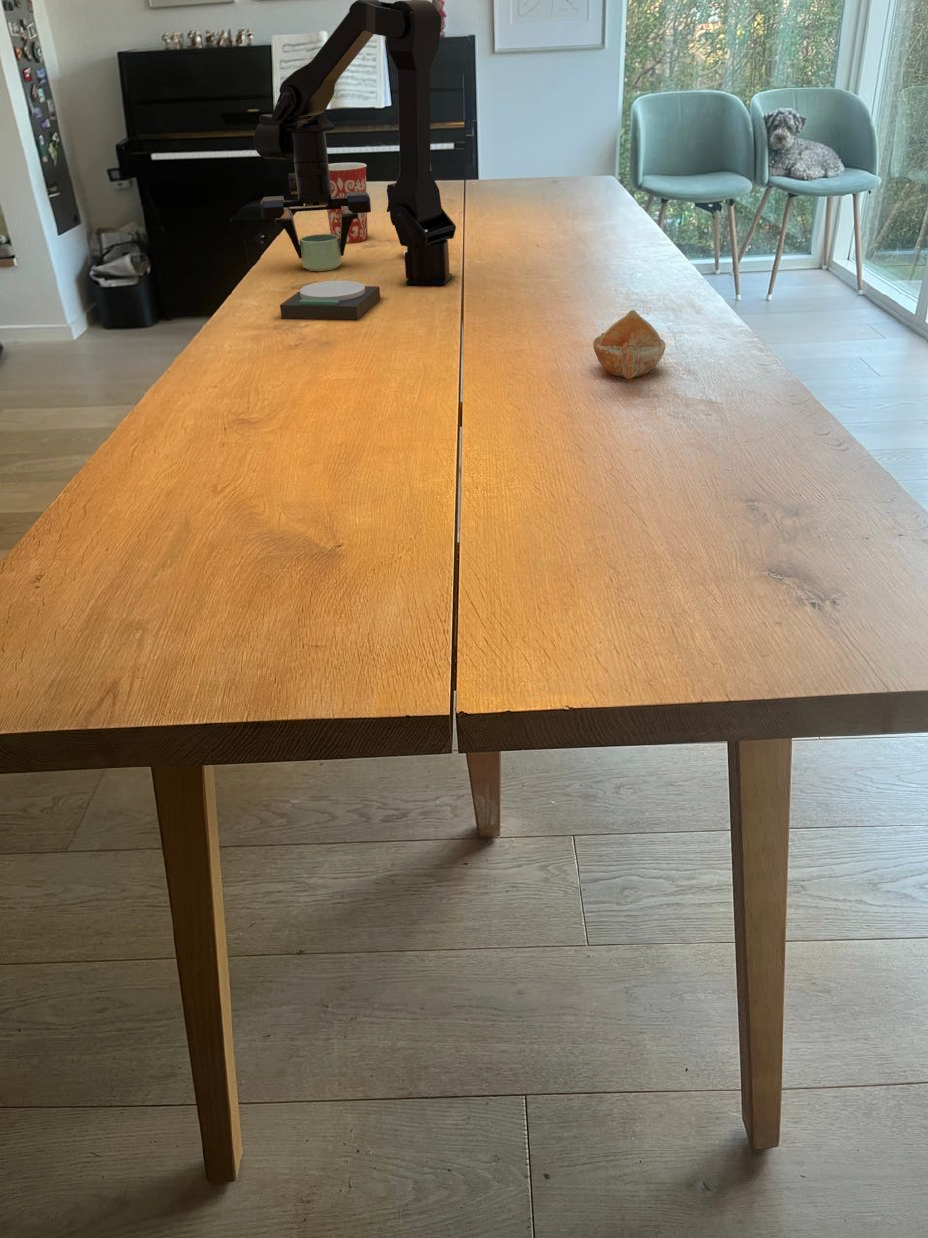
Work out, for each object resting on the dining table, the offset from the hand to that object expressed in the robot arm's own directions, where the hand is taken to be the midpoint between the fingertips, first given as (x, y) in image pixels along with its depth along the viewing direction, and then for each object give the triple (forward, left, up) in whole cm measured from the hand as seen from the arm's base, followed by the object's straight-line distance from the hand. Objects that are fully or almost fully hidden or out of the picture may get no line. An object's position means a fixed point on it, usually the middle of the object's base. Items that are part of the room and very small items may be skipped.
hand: (321, 256), depth 175 cm
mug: (+3, -26, -2) cm, 26 cm away
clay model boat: (-58, +52, -2) cm, 78 cm away
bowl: (0, 0, -2) cm, 2 cm away
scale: (-11, +27, -2) cm, 29 cm away
